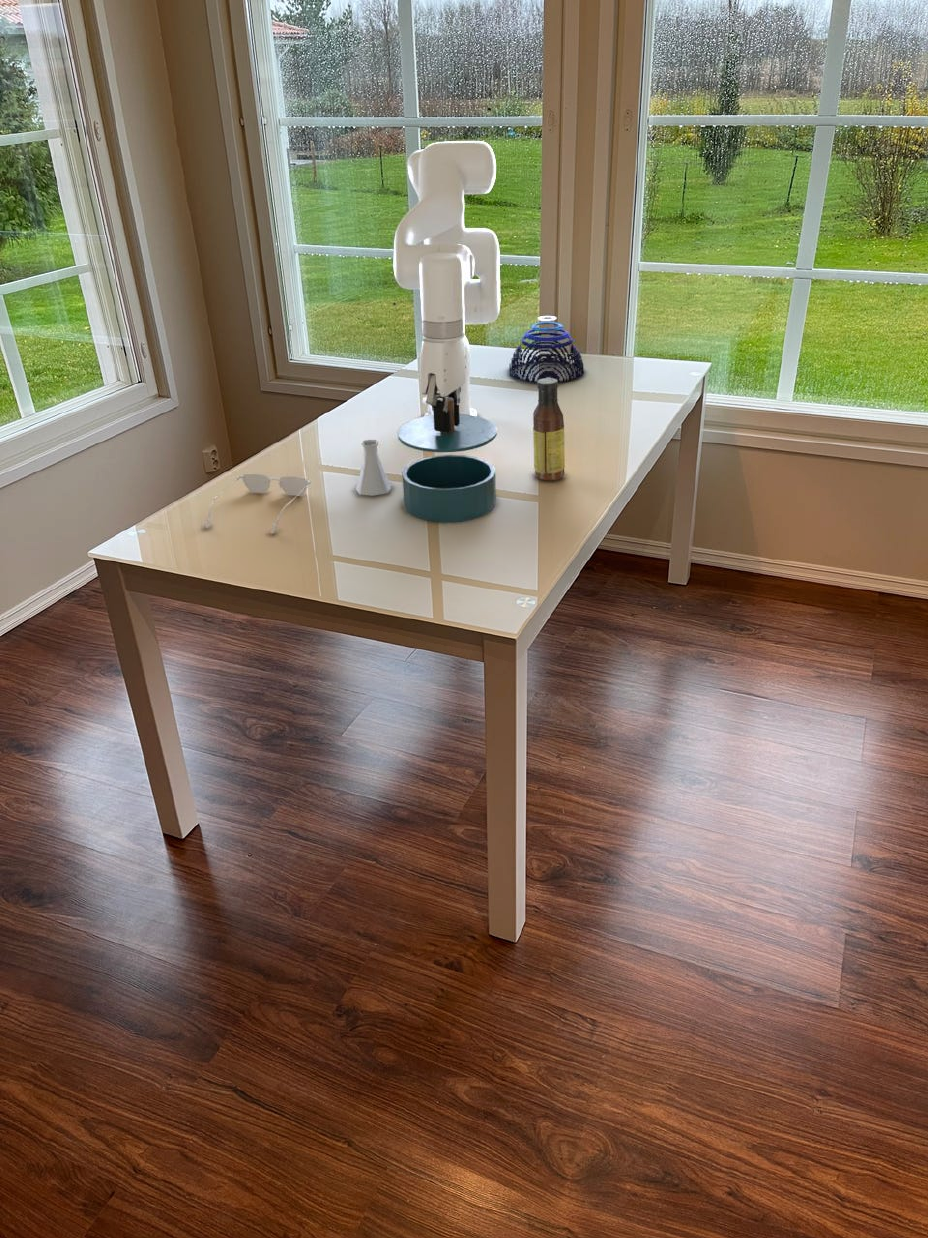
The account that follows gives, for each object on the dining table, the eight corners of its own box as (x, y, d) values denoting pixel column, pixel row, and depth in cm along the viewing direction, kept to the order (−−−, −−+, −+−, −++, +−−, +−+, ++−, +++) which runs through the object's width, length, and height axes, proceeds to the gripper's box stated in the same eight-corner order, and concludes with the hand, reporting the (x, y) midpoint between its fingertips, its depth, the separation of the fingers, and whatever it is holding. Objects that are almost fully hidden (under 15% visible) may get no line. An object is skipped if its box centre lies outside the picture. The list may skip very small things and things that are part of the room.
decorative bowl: (587, 382, 248) (589, 326, 240) (510, 384, 248) (510, 328, 241) (580, 361, 265) (582, 308, 257) (508, 362, 265) (508, 310, 258)
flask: (355, 483, 193) (351, 436, 188) (391, 481, 194) (388, 434, 189) (355, 497, 187) (351, 449, 182) (392, 495, 188) (388, 447, 182)
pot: (385, 503, 184) (383, 472, 181) (451, 478, 195) (450, 448, 191) (447, 530, 173) (446, 497, 170) (513, 501, 183) (514, 470, 180)
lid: (377, 437, 178) (374, 400, 174) (449, 412, 189) (448, 376, 185) (444, 464, 166) (443, 424, 162) (517, 435, 177) (517, 398, 173)
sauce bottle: (567, 472, 196) (570, 376, 185) (560, 483, 191) (562, 386, 180) (536, 468, 198) (538, 374, 187) (528, 480, 193) (529, 383, 182)
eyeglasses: (313, 495, 189) (311, 477, 186) (278, 534, 173) (275, 515, 171) (241, 490, 192) (238, 472, 190) (200, 528, 177) (197, 509, 175)
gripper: (445, 314, 174) (449, 411, 184) (402, 338, 162) (408, 439, 172) (482, 318, 171) (483, 416, 181) (441, 342, 159) (445, 445, 169)
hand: (447, 426), depth 176 cm, fingers closed on lid, 2 cm apart
